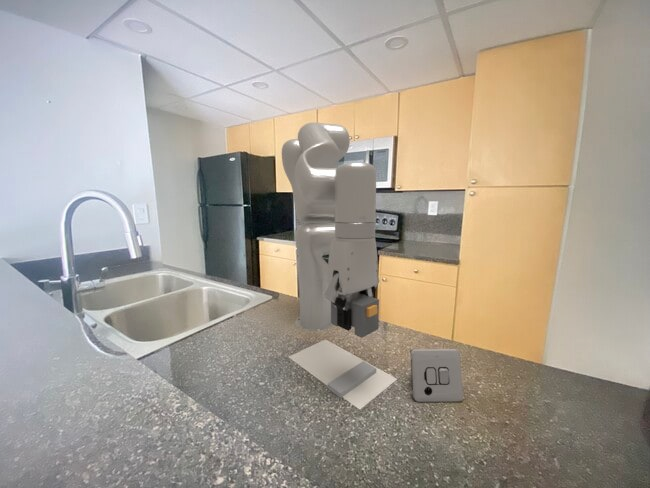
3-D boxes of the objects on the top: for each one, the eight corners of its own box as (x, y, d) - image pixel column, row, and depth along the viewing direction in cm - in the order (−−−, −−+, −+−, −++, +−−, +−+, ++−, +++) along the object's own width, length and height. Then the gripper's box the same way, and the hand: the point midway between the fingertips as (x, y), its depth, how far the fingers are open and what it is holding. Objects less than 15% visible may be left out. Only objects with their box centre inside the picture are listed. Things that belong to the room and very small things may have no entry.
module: (347, 316, 56) (347, 289, 56) (380, 330, 50) (381, 300, 49) (331, 323, 53) (330, 295, 52) (364, 339, 47) (364, 307, 46)
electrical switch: (414, 403, 49) (415, 355, 49) (405, 386, 54) (406, 343, 54) (463, 403, 49) (465, 355, 49) (450, 386, 54) (451, 343, 54)
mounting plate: (325, 343, 70) (325, 335, 70) (397, 384, 54) (397, 374, 54) (286, 362, 62) (286, 353, 62) (357, 417, 46) (357, 405, 46)
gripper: (367, 228, 58) (366, 306, 60) (307, 233, 46) (308, 330, 49) (397, 230, 52) (394, 316, 55) (337, 237, 41) (337, 346, 43)
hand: (354, 322), depth 52 cm, fingers closed on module, 5 cm apart
